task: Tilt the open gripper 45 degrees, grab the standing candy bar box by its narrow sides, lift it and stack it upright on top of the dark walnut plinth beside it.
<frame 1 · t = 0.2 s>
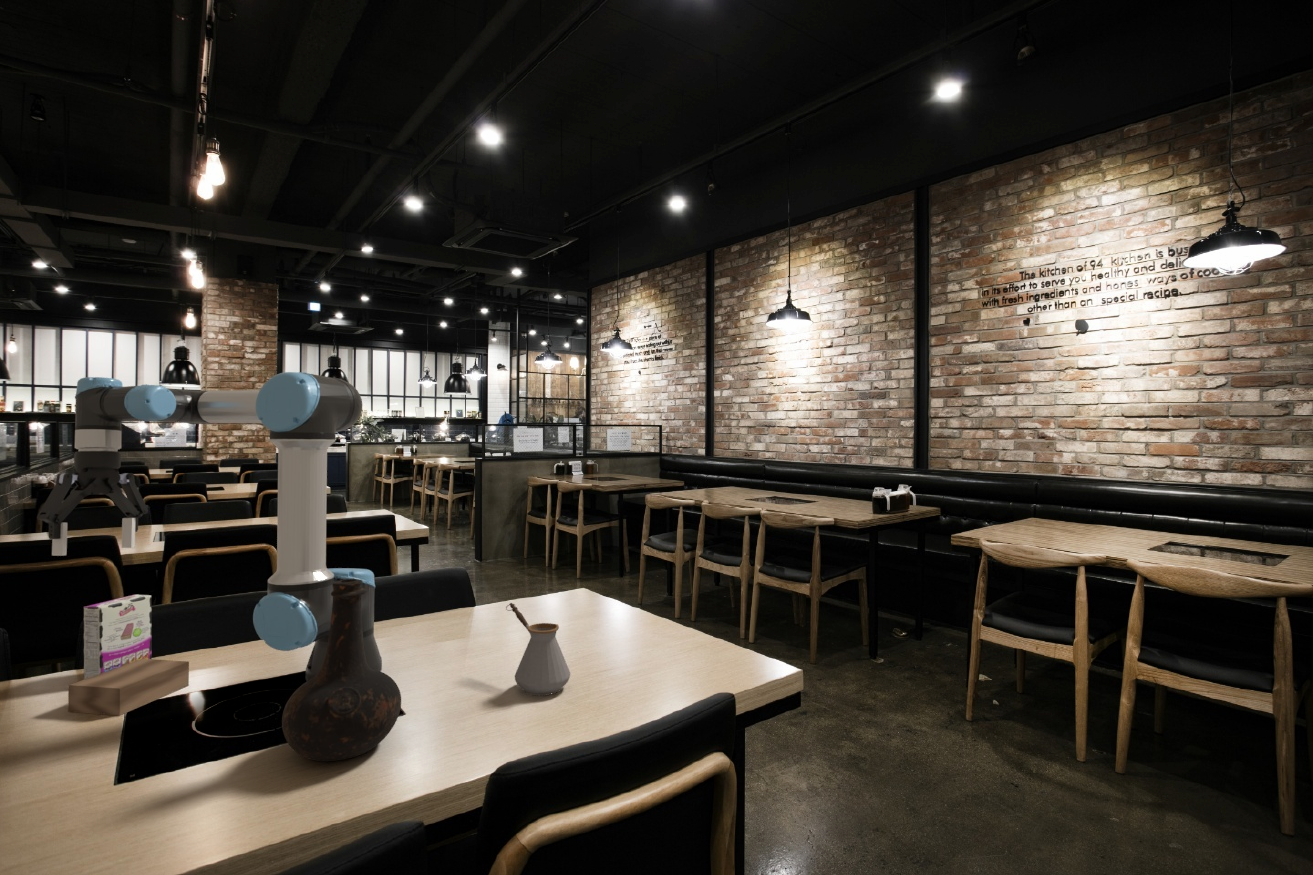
hand: (95, 551, 136), 27 cm above the table, tool pointing down, fingers open, 13 cm apart
coffee pot: (531, 682, 139), on the table
walnut plinth: (131, 697, 128), on the table
candy bar box: (117, 676, 140), on the table
glass bottle: (343, 749, 108), on the table
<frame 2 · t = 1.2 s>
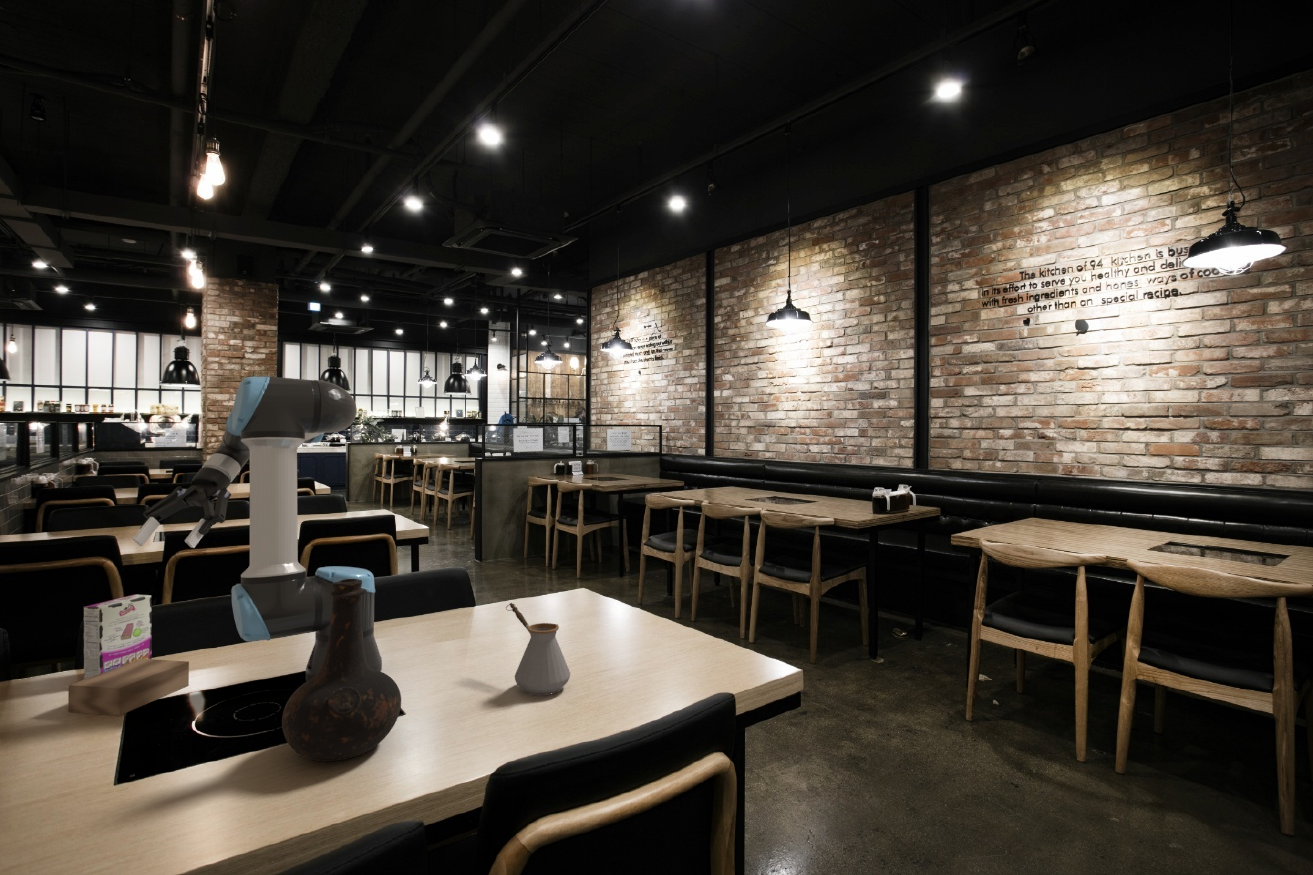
hand: (163, 543, 150), 27 cm above the table, tool tilted 45°, fingers open, 13 cm apart
nothing on the table moved.
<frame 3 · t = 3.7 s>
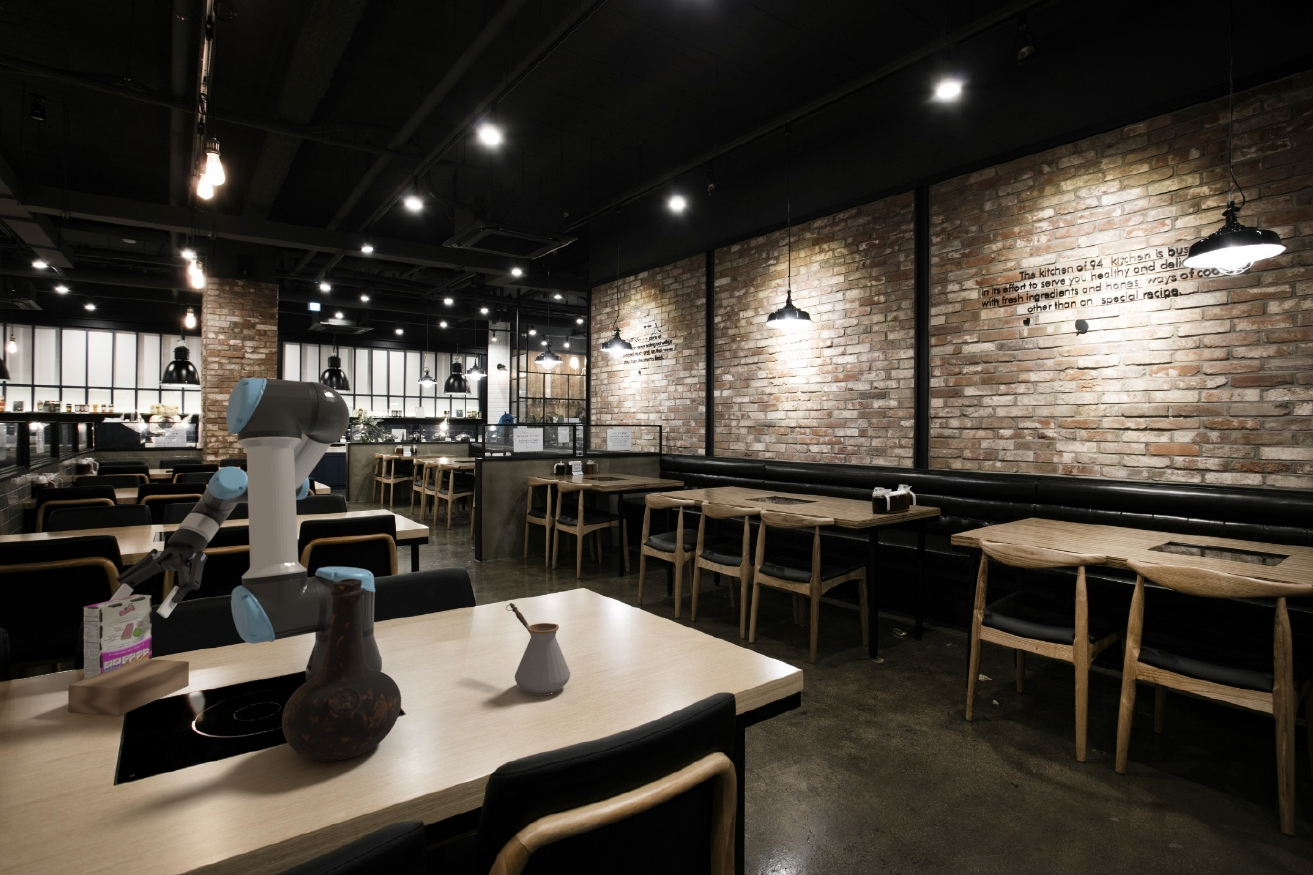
hand: (134, 613, 144), 12 cm above the table, tool tilted 45°, fingers open, 13 cm apart
nothing on the table moved.
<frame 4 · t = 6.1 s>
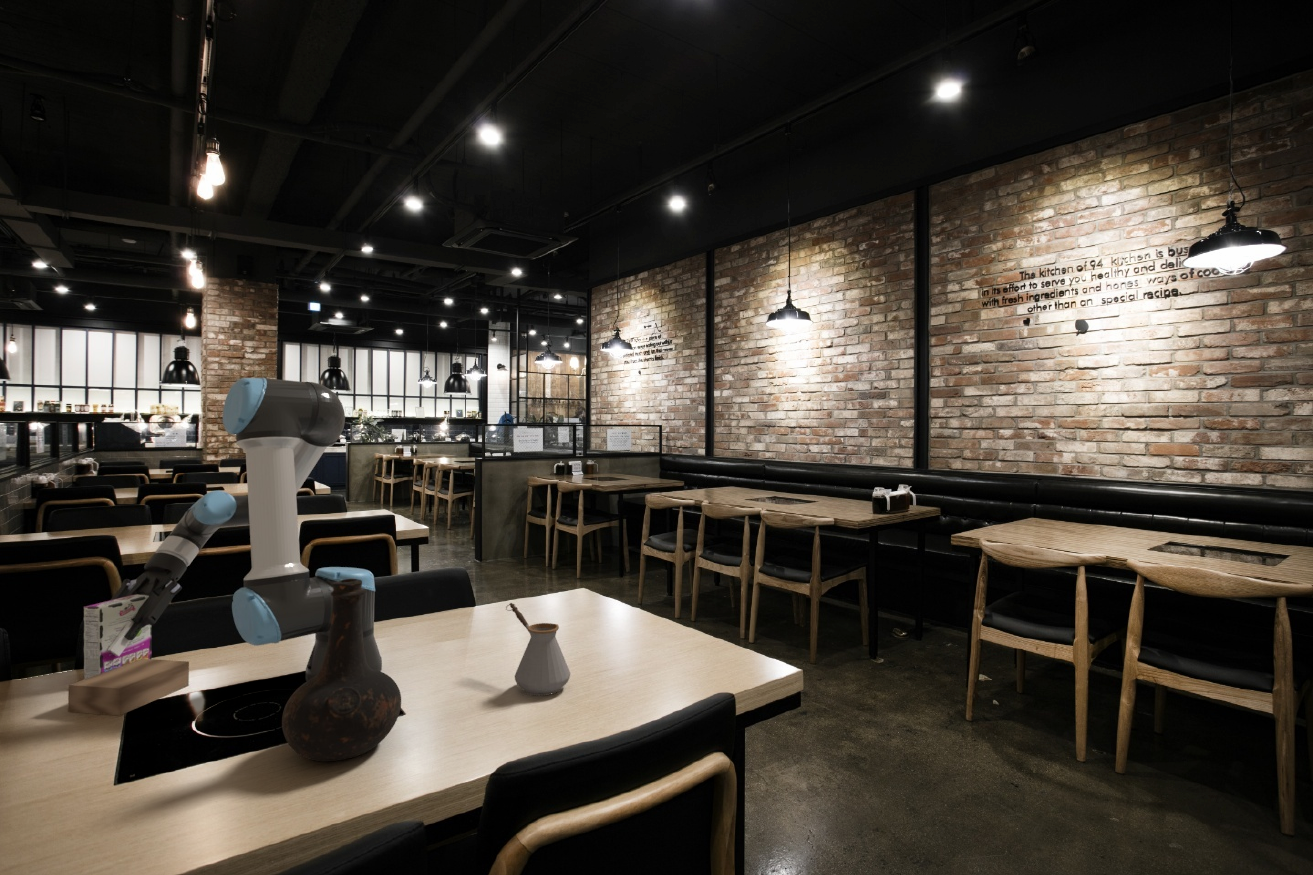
hand: (101, 652, 136), 6 cm above the table, tool tilted 45°, fingers closed on candy bar box, 5 cm apart
candy bar box: (117, 676, 140), on the table, touching gripper
everything else where it was.
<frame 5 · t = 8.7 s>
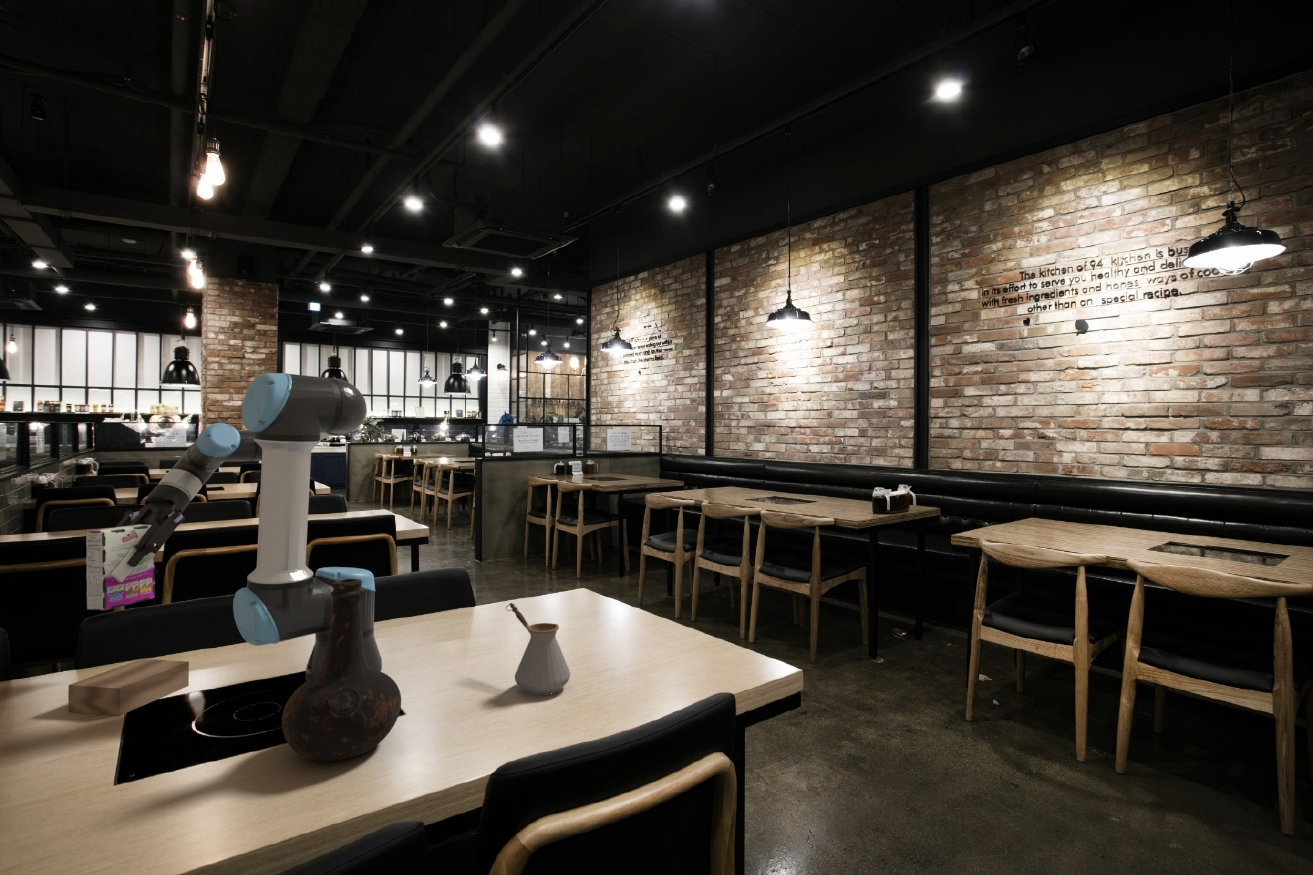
hand: (104, 577, 134), 22 cm above the table, tool tilted 45°, fingers closed on candy bar box, 5 cm apart
candy bar box: (121, 605, 138), point 16 cm above the table, touching gripper
everything else where it was.
when the fingers open (13 cm above the table, at t = 11.6 s): candy bar box drops 1 cm, resting on walnut plinth.
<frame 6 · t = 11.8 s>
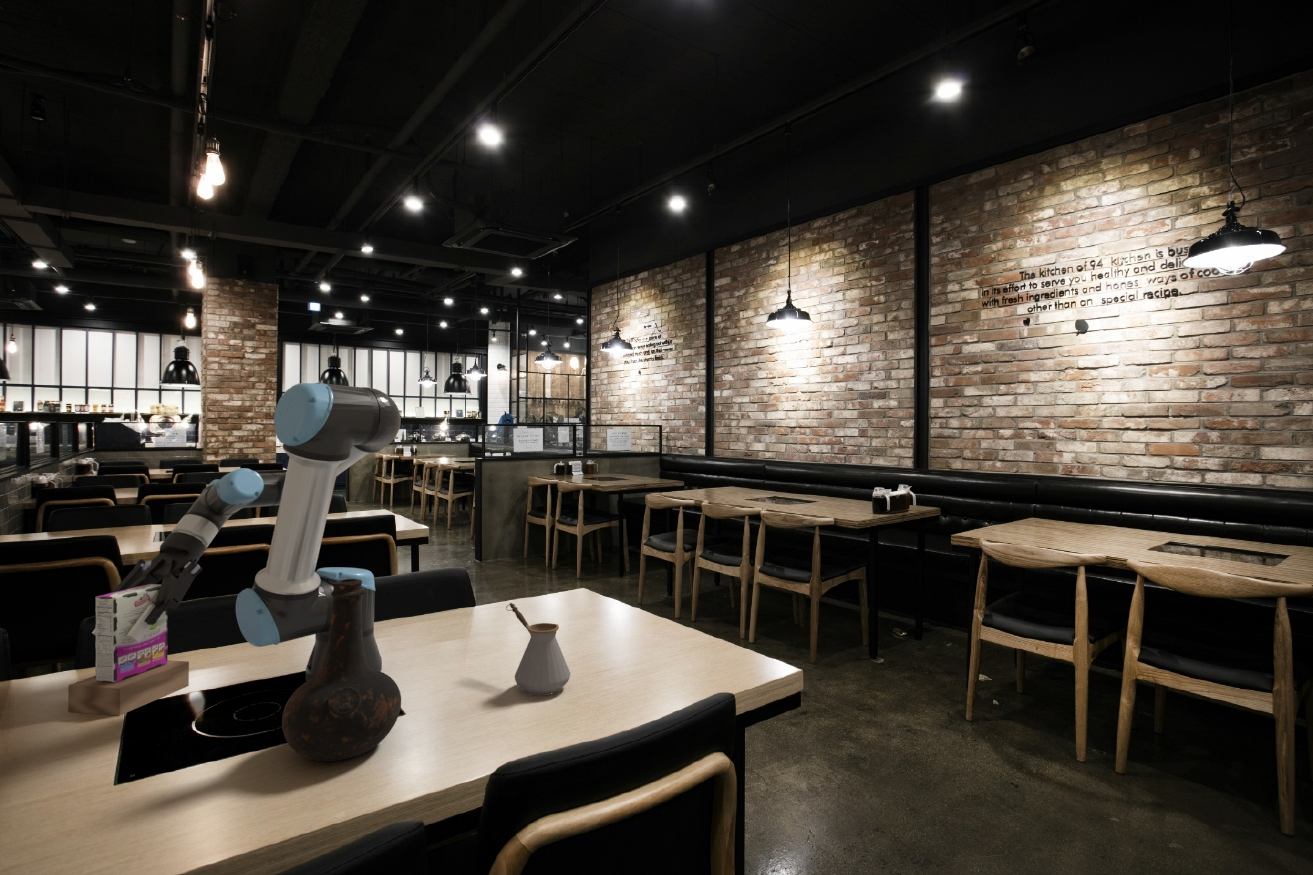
hand: (115, 637, 125), 13 cm above the table, tool tilted 45°, fingers open, 7 cm apart
candy bar box: (131, 673, 128), point 5 cm above the table, touching walnut plinth
everything else where it was.
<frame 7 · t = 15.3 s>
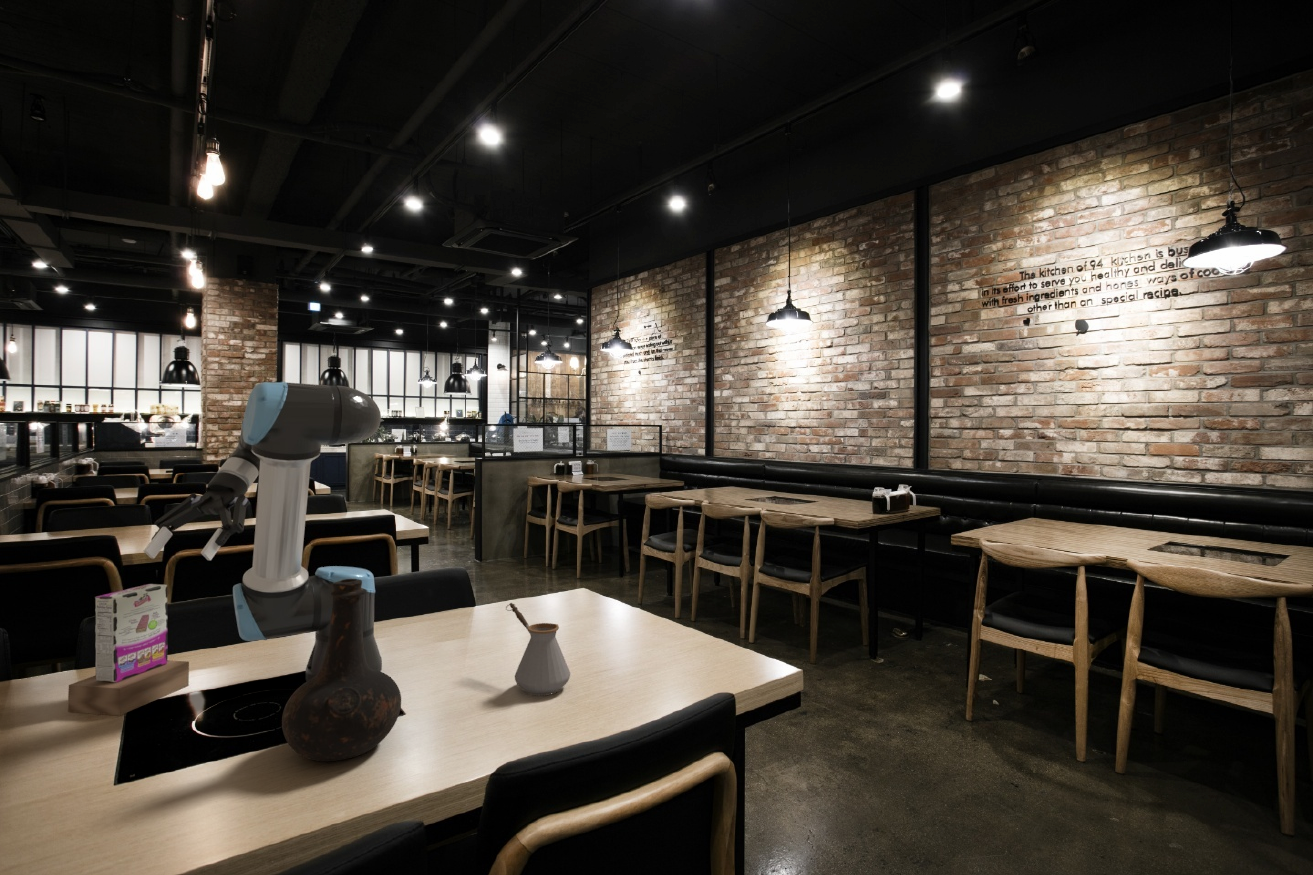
hand: (176, 555, 138), 26 cm above the table, tool tilted 45°, fingers open, 13 cm apart
nothing on the table moved.
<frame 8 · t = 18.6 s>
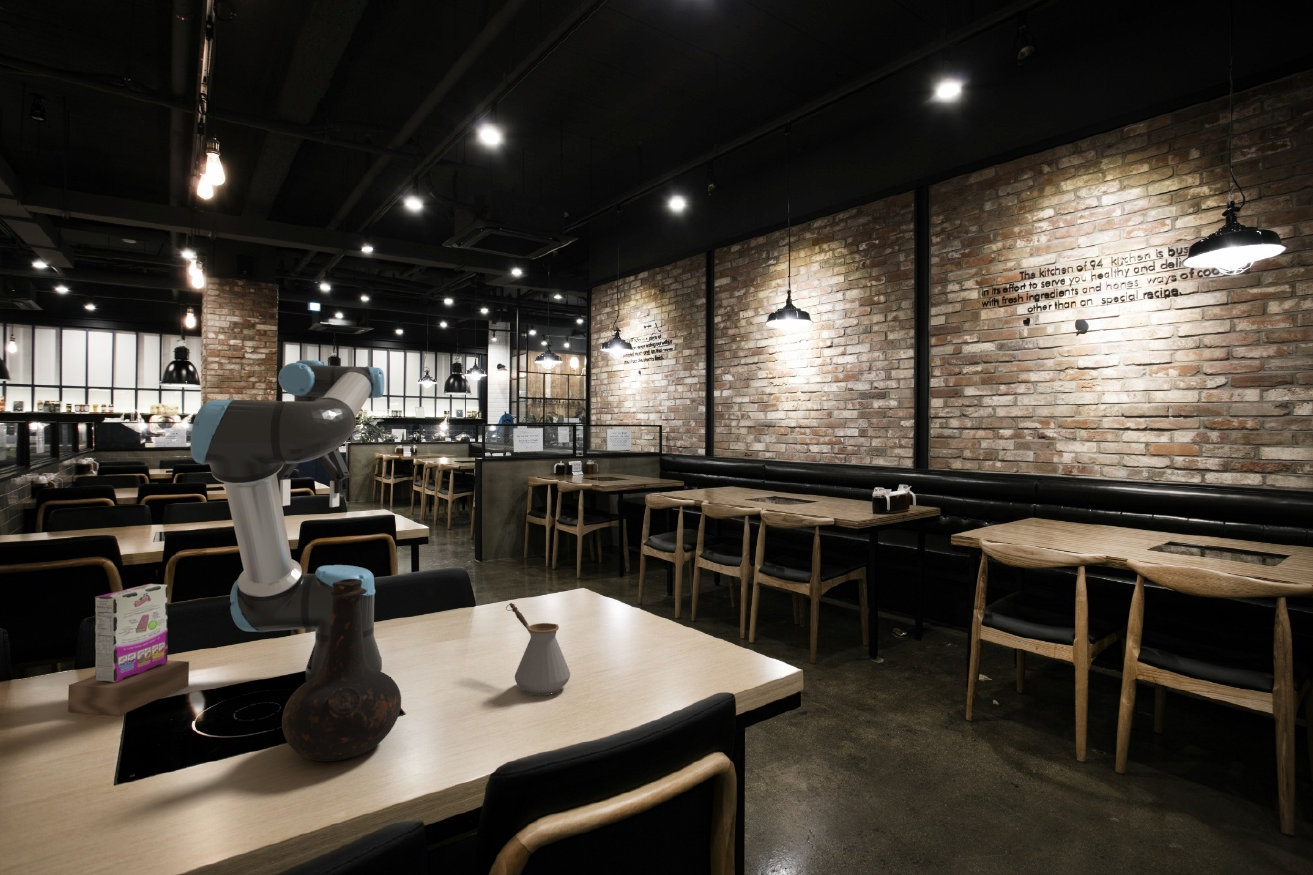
hand: (309, 506, 163), 35 cm above the table, tool pointing down, fingers open, 13 cm apart
nothing on the table moved.
at the end: candy bar box inside the target area on the walnut plinth (0.0 cm from its centre), point 4.8 cm above the walnut plinth's base; candy bar box tilted 0°; the gripper is holding nothing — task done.
